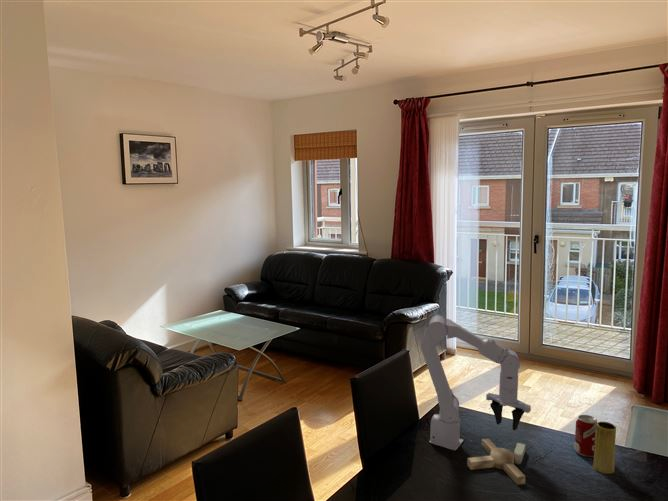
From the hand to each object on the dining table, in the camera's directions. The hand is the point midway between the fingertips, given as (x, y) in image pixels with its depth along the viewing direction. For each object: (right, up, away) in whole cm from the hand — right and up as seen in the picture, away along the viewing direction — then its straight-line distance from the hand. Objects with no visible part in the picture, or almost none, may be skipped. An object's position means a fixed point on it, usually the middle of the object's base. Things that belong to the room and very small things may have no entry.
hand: (506, 426), depth 165 cm
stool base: (-8, -10, -8) cm, 15 cm away
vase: (+27, -10, -10) cm, 30 cm away
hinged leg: (+3, -9, -3) cm, 10 cm away
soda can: (+26, -9, -1) cm, 27 cm away
